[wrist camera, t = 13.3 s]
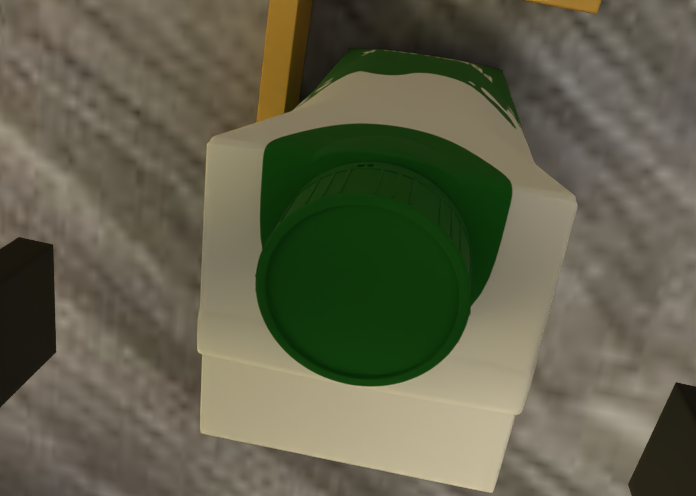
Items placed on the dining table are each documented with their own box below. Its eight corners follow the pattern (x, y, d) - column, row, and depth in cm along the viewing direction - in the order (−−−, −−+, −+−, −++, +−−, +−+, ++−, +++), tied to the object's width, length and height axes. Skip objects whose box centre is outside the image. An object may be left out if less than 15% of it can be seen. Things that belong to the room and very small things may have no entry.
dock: (256, 251, 35) (239, 277, 32) (294, -72, 28) (277, -75, 25) (493, 304, 34) (496, 334, 31) (591, -17, 27) (606, -14, 24)
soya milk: (528, 51, 28) (650, 217, 10) (485, 239, 32) (519, 597, 14) (331, 23, 29) (127, 131, 11) (312, 209, 33) (137, 514, 15)
